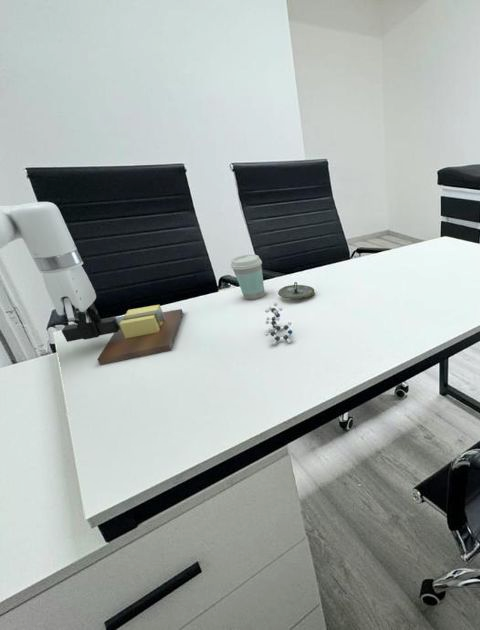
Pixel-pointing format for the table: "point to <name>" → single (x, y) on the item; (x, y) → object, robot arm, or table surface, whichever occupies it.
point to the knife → (108, 324)
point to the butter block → (144, 309)
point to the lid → (296, 291)
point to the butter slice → (139, 326)
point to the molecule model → (277, 325)
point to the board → (142, 341)
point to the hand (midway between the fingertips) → (94, 333)
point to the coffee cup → (249, 275)
